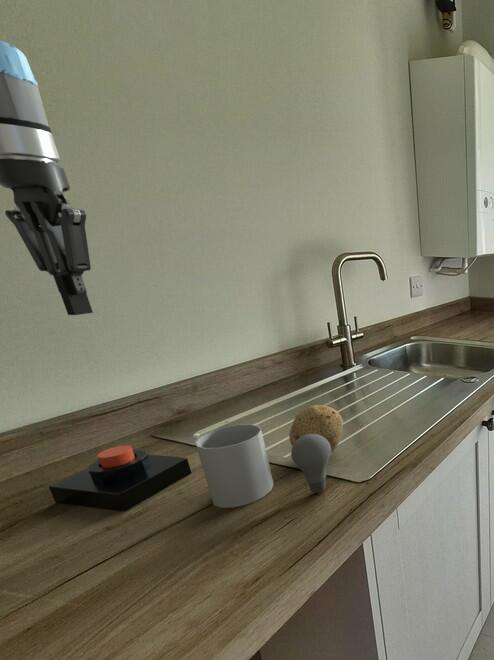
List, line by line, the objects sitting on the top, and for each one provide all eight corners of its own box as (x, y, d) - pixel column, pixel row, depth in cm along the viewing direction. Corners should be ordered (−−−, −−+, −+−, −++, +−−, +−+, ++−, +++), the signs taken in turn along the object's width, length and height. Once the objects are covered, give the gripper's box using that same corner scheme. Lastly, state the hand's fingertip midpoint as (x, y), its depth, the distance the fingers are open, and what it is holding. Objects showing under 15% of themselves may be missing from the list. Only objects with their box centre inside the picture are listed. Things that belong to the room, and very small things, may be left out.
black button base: (55, 503, 63) (43, 474, 61) (130, 466, 73) (121, 441, 72) (124, 511, 61) (114, 482, 59) (191, 473, 71) (184, 447, 69)
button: (94, 468, 64) (90, 456, 63) (121, 455, 68) (118, 444, 67) (115, 470, 63) (111, 458, 63) (141, 457, 67) (138, 446, 66)
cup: (199, 500, 63) (182, 442, 60) (249, 474, 71) (236, 421, 67) (237, 512, 60) (220, 452, 57) (285, 484, 68) (273, 429, 64)
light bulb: (344, 484, 67) (335, 429, 64) (324, 504, 62) (313, 445, 59) (314, 481, 68) (303, 426, 65) (291, 500, 63) (279, 442, 60)
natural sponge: (292, 472, 71) (281, 419, 68) (295, 449, 79) (286, 401, 76) (348, 461, 75) (340, 410, 71) (346, 441, 82) (338, 394, 79)
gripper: (89, 164, 66) (134, 311, 73) (25, 167, 68) (75, 309, 76) (29, 154, 59) (86, 318, 66) (-39, 158, 61) (23, 316, 69)
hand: (80, 313), depth 71 cm, fingers closed
